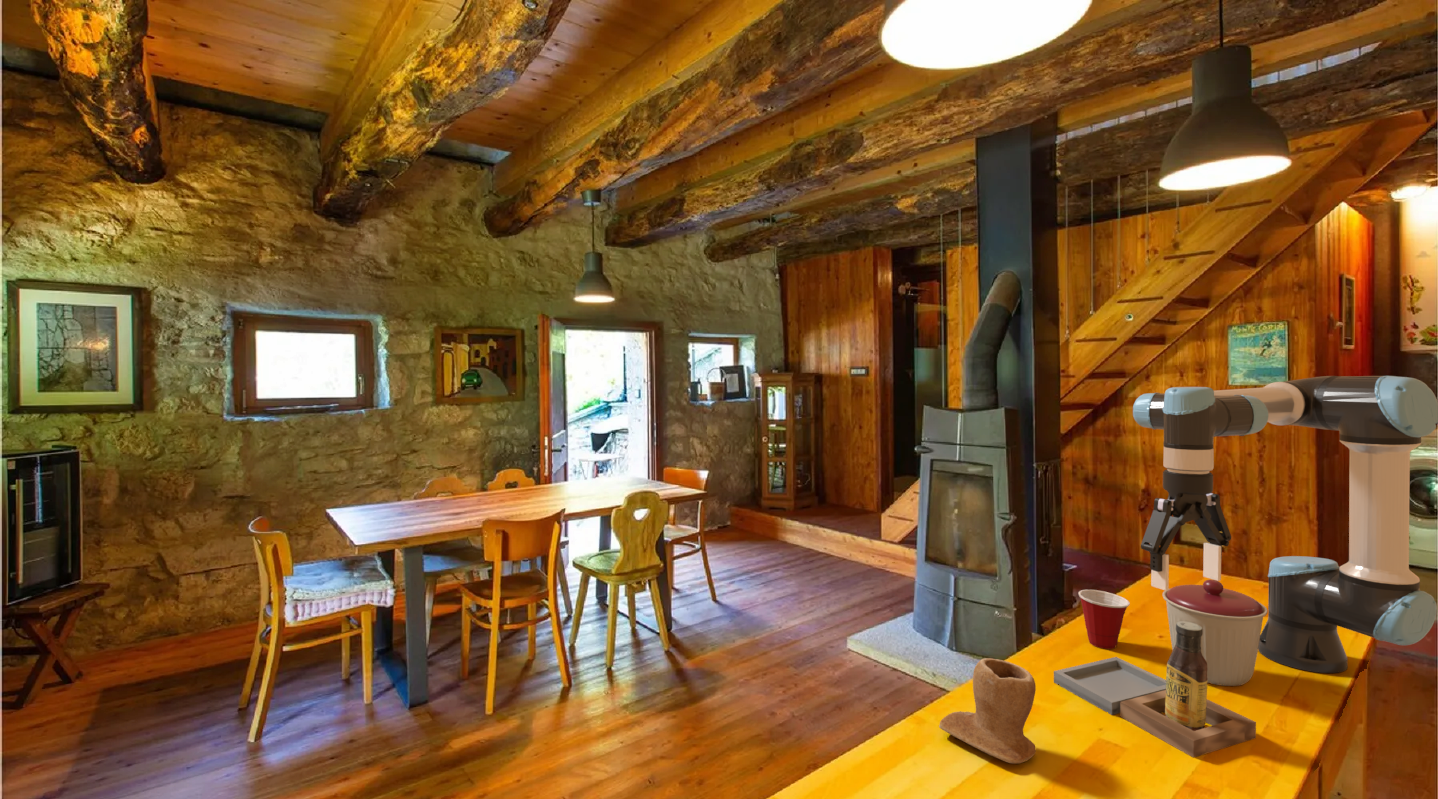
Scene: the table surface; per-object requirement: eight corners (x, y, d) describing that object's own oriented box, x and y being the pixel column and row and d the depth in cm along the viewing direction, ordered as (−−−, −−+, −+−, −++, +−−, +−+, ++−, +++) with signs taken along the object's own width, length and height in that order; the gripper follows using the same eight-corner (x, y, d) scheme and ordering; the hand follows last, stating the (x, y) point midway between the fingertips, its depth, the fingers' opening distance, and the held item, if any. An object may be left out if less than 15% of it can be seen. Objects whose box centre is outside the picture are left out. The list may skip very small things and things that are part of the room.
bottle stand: (1179, 700, 130) (1179, 686, 130) (1255, 738, 117) (1255, 722, 117) (1120, 716, 125) (1120, 701, 125) (1193, 757, 112) (1193, 740, 112)
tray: (1116, 667, 145) (1116, 656, 145) (1177, 697, 131) (1177, 685, 131) (1053, 682, 139) (1053, 671, 139) (1111, 715, 126) (1111, 702, 126)
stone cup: (1050, 750, 115) (1050, 669, 114) (1014, 776, 108) (1013, 690, 107) (974, 714, 127) (973, 641, 127) (937, 736, 121) (936, 658, 120)
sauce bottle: (1156, 718, 124) (1157, 618, 123) (1187, 716, 125) (1187, 616, 124) (1184, 738, 117) (1185, 632, 116) (1215, 735, 118) (1217, 630, 117)
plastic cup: (1137, 655, 150) (1138, 605, 150) (1087, 652, 152) (1087, 603, 152) (1118, 636, 161) (1119, 589, 160) (1071, 633, 163) (1071, 587, 162)
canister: (1243, 661, 146) (1244, 570, 145) (1283, 701, 129) (1285, 598, 128) (1151, 652, 152) (1151, 564, 151) (1178, 689, 135) (1178, 590, 134)
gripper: (1213, 462, 126) (1212, 568, 127) (1118, 472, 118) (1117, 585, 119) (1256, 468, 119) (1254, 580, 120) (1158, 478, 111) (1156, 599, 112)
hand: (1186, 583), depth 120 cm, fingers open, 13 cm apart
